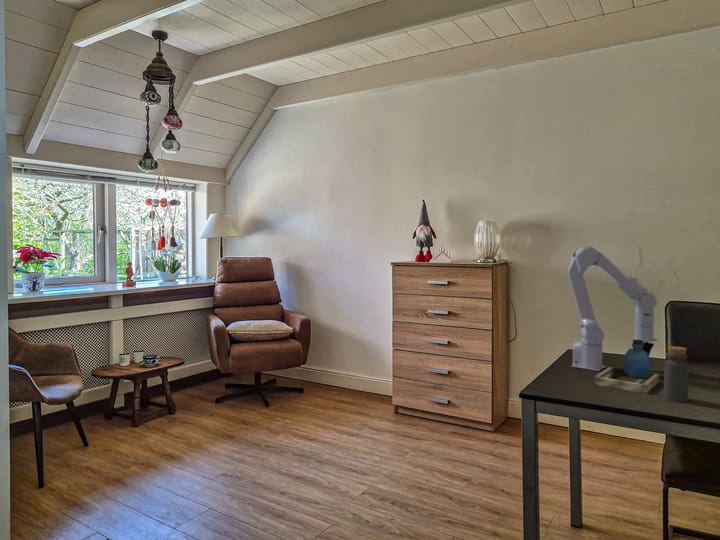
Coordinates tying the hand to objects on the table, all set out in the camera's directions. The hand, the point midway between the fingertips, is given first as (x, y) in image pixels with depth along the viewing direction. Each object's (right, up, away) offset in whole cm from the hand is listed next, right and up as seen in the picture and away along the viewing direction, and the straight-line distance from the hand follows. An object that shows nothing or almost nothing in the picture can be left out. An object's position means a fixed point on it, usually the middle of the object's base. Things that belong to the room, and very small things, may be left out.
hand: (643, 363), depth 176 cm
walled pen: (-14, -3, -16) cm, 22 cm away
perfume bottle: (-6, -3, -6) cm, 9 cm away
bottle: (-9, -4, -32) cm, 34 cm away
